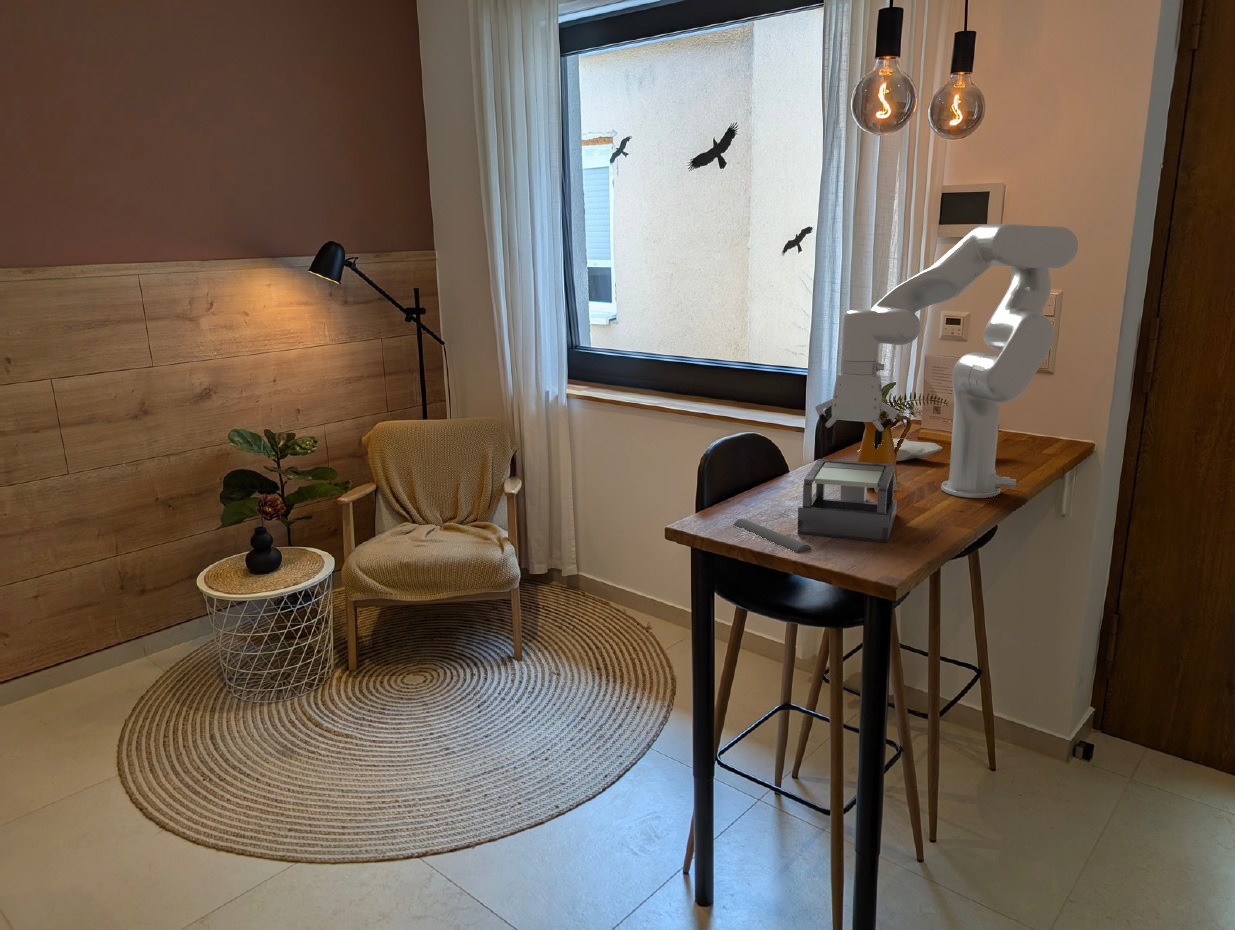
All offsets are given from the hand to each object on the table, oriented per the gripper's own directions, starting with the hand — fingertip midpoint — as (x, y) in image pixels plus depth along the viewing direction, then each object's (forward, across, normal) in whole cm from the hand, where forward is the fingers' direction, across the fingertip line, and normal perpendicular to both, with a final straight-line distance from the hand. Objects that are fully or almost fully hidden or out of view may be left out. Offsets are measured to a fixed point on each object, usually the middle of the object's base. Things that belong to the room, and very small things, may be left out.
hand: (853, 446), depth 194 cm
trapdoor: (+4, -2, +16) cm, 16 cm away
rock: (+13, -5, -42) cm, 44 cm away
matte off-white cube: (+13, -1, 0) cm, 13 cm away
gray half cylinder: (+14, +12, +28) cm, 34 cm away
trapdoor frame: (+13, -2, +15) cm, 20 cm away
